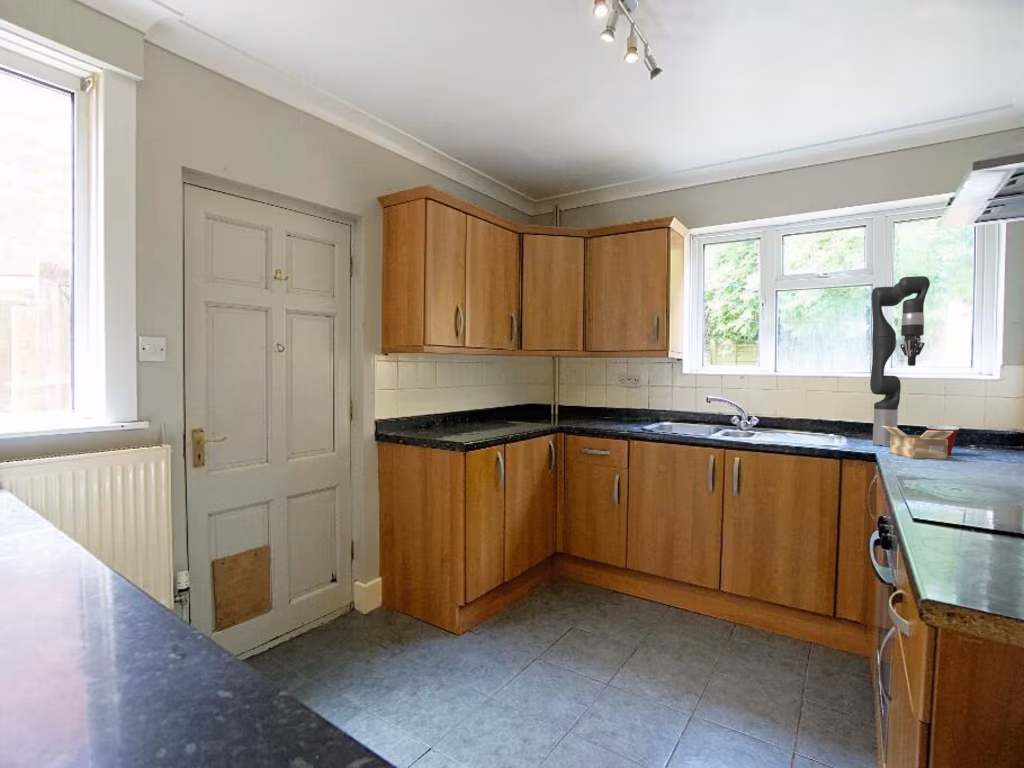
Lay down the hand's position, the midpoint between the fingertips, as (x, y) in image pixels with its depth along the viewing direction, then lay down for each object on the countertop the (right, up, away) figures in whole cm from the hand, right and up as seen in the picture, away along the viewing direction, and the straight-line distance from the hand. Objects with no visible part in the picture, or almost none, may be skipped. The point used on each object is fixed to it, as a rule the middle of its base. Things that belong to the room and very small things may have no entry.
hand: (911, 365), depth 221 cm
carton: (-4, -37, -8) cm, 38 cm away
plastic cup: (+12, -38, 0) cm, 39 cm away
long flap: (-12, -27, -7) cm, 30 cm away
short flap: (-5, -27, -19) cm, 33 cm away
